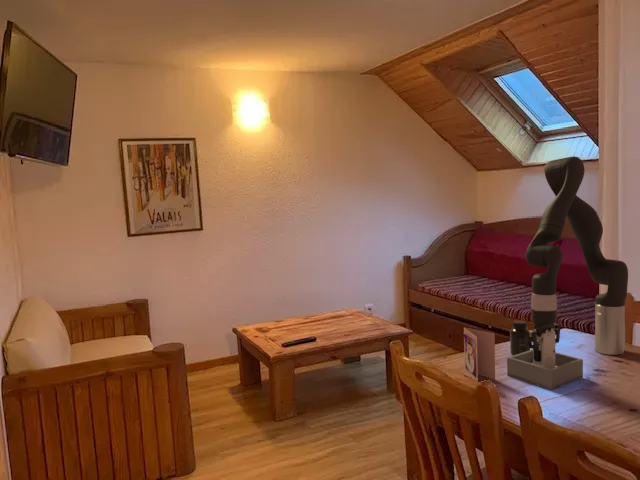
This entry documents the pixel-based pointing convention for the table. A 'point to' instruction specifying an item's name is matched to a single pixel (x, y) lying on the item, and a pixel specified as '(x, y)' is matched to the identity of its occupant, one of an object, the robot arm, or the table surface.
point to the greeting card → (479, 353)
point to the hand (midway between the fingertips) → (544, 358)
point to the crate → (545, 370)
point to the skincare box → (547, 351)
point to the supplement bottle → (519, 337)
